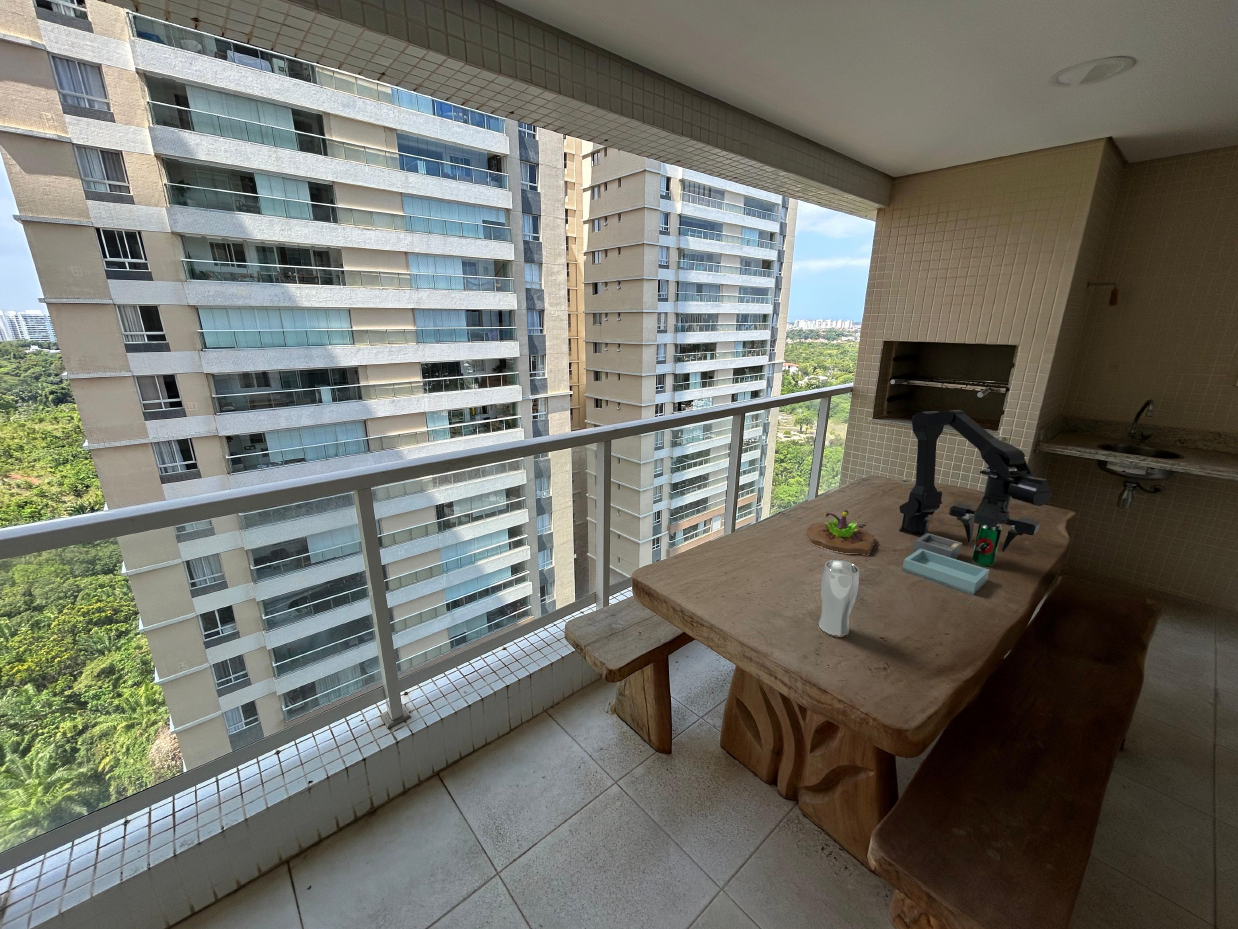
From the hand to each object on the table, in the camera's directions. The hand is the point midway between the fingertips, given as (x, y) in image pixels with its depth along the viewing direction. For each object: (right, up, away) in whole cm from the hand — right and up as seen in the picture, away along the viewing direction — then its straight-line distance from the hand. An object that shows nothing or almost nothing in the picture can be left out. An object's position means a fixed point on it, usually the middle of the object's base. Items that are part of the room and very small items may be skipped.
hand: (985, 546), depth 127 cm
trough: (-16, -7, -6) cm, 18 cm away
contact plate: (-9, -3, +7) cm, 12 cm away
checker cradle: (-9, -3, +7) cm, 12 cm away
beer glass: (-56, -13, -28) cm, 64 cm away
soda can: (0, -5, +1) cm, 5 cm away
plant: (-33, -2, +16) cm, 37 cm away
